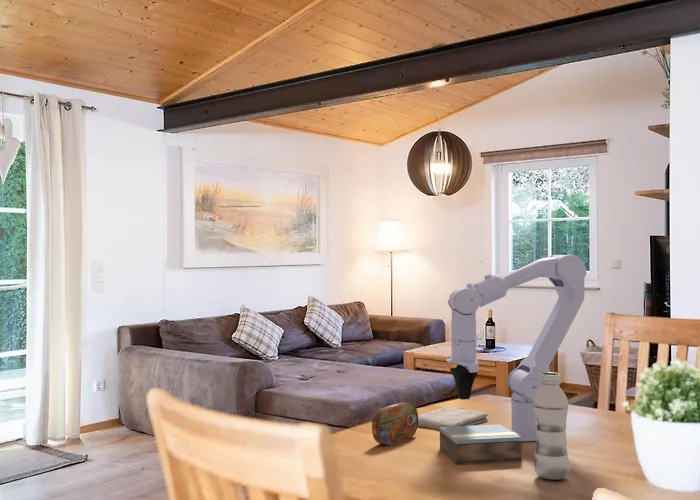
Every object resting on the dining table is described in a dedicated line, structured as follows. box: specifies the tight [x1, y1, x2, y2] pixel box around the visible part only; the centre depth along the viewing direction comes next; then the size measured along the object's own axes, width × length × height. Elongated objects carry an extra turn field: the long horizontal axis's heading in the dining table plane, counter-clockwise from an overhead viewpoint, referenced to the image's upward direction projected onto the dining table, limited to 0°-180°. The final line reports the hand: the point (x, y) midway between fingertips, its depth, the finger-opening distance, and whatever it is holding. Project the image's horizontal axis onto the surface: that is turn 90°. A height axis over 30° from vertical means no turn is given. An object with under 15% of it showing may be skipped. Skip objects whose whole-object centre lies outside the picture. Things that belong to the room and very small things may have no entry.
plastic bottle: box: [533, 371, 571, 481], centre depth 140 cm, size 6×7×20 cm
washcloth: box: [418, 406, 489, 431], centre depth 186 cm, size 12×18×3 cm, turn 140°
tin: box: [371, 402, 419, 446], centre depth 168 cm, size 15×3×8 cm, turn 139°
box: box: [439, 430, 523, 466], centre depth 156 cm, size 14×12×4 cm
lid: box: [439, 423, 523, 444], centre depth 156 cm, size 14×12×1 cm
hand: (464, 398), depth 169 cm, fingers closed
